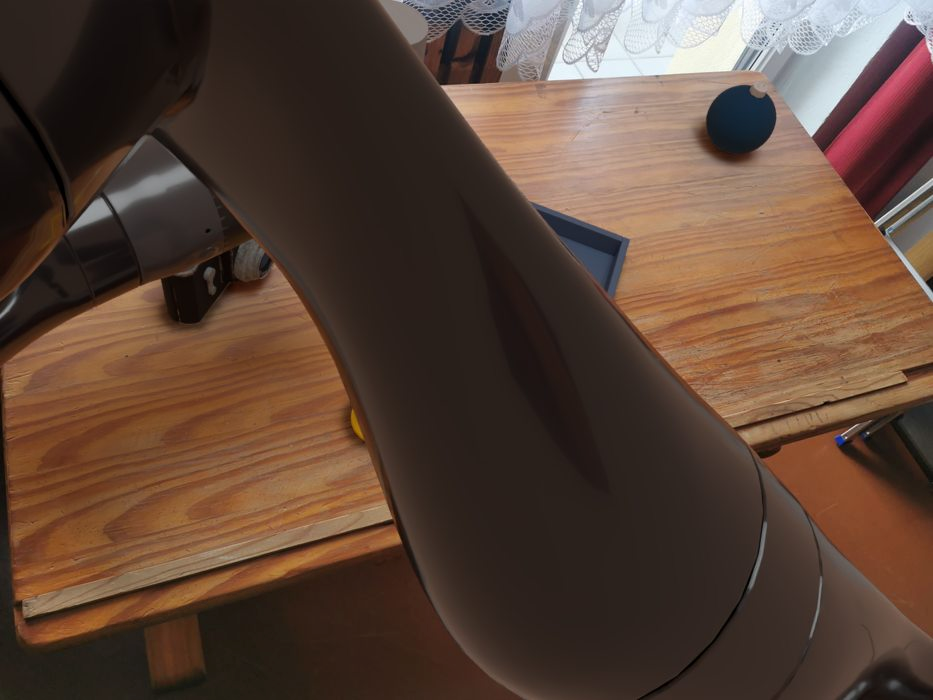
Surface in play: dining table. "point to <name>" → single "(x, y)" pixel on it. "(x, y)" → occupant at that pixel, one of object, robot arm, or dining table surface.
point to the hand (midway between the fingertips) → (409, 102)
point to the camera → (212, 281)
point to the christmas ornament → (741, 118)
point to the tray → (590, 246)
